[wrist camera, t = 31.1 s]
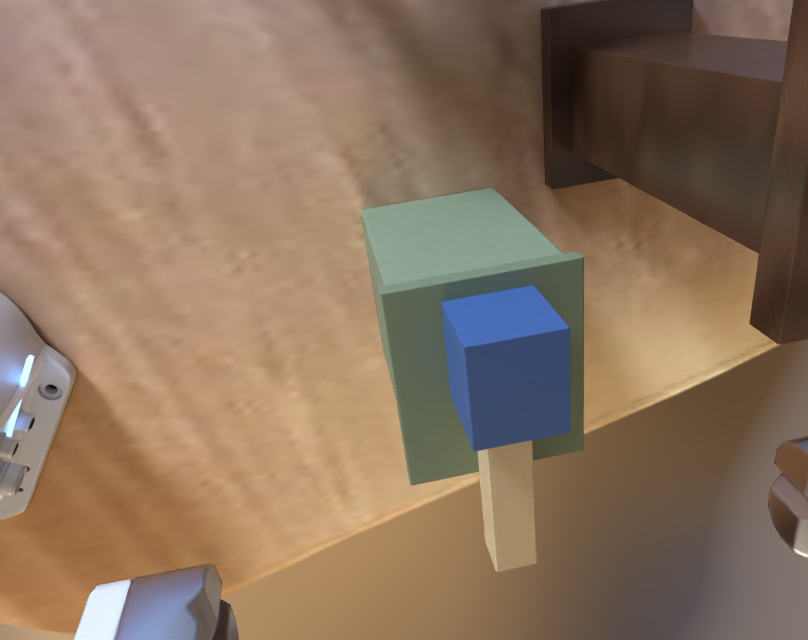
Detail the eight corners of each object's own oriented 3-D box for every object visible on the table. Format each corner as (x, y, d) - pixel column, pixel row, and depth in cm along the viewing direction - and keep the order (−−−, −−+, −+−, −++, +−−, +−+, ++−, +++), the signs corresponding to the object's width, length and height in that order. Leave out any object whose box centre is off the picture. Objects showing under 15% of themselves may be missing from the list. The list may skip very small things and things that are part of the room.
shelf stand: (670, 169, 49) (977, 306, 27) (545, 191, 49) (756, 350, 26) (682, -21, 43) (1088, -44, 21) (539, 0, 43) (806, -1, 20)
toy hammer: (541, 529, 42) (571, 591, 37) (466, 544, 41) (487, 610, 37) (534, 284, 34) (570, 327, 29) (441, 301, 33) (463, 347, 29)
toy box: (506, 331, 54) (583, 450, 39) (379, 355, 53) (410, 486, 38) (497, 180, 48) (584, 256, 33) (353, 205, 47) (380, 293, 33)
